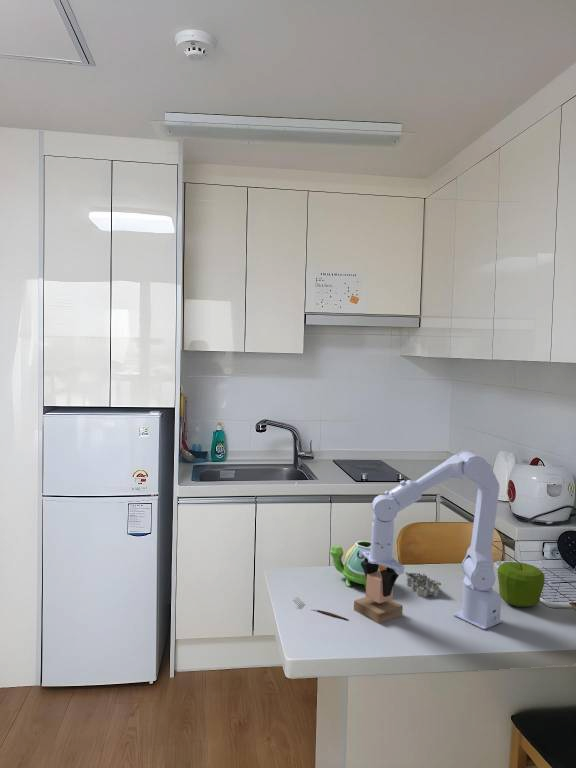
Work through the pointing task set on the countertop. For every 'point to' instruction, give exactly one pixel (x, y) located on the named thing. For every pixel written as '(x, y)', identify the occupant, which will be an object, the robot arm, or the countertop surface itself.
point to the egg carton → (422, 584)
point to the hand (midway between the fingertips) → (379, 591)
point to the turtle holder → (352, 562)
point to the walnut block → (378, 609)
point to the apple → (520, 583)
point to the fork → (319, 610)
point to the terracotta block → (376, 588)
